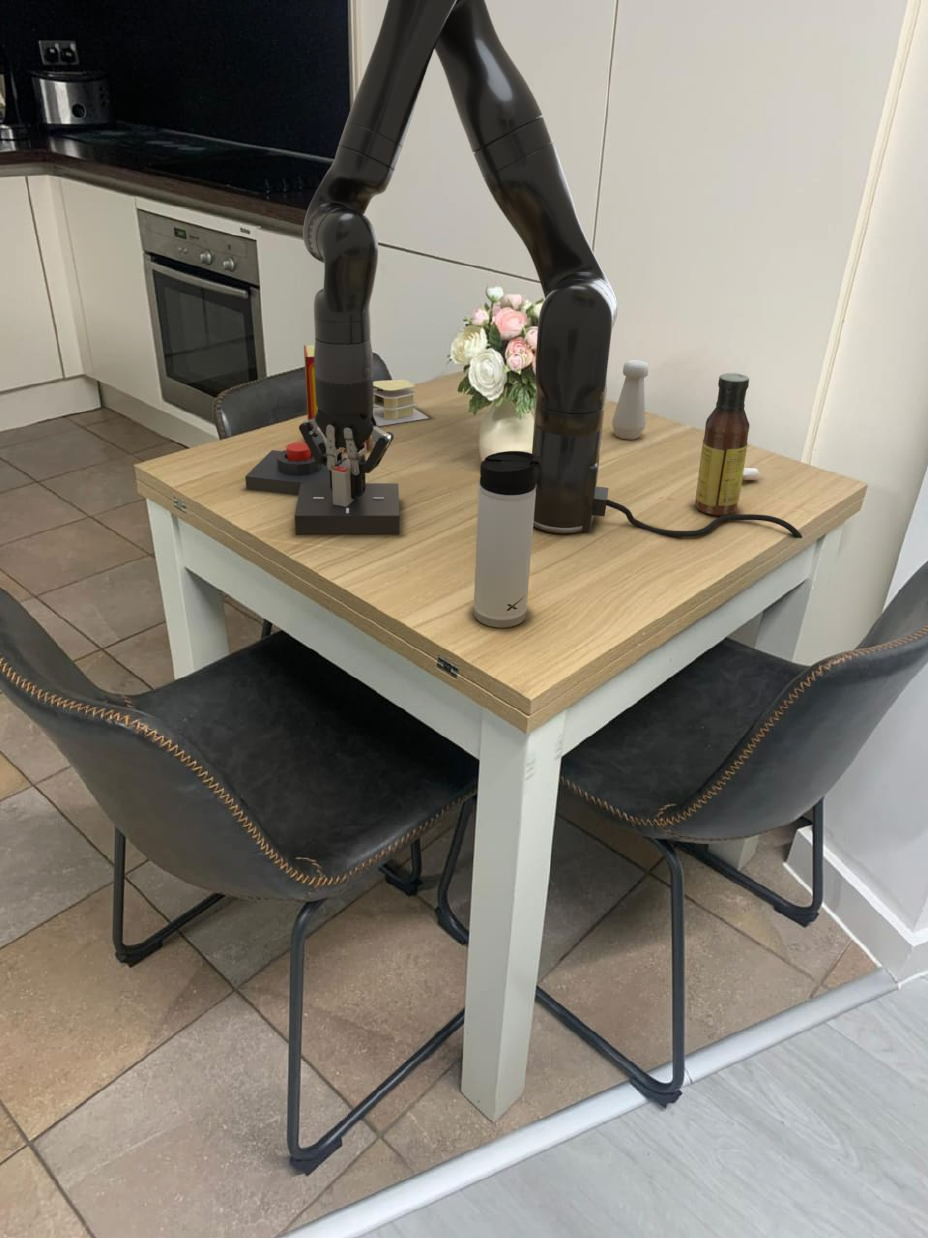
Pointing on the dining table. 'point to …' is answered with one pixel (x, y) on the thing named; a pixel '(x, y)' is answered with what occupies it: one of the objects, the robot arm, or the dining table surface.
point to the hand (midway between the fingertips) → (347, 495)
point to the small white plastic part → (750, 474)
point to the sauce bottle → (724, 449)
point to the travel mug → (504, 537)
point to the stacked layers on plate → (394, 402)
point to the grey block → (342, 484)
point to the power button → (298, 452)
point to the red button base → (285, 474)
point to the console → (348, 511)
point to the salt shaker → (631, 402)
